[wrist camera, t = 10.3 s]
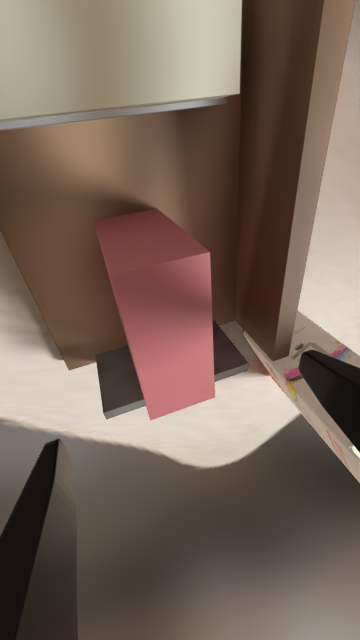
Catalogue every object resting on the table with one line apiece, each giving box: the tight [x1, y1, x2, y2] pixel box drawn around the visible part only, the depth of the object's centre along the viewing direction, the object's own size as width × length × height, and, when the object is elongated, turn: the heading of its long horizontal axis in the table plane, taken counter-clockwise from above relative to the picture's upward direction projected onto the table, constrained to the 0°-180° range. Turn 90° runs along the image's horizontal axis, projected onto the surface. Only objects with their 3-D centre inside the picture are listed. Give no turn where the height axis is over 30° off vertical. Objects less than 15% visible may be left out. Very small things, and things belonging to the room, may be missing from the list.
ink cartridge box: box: [243, 311, 360, 483], centre depth 21 cm, size 9×5×15 cm, turn 32°
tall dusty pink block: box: [93, 209, 215, 420], centre depth 14 cm, size 4×8×7 cm, turn 6°
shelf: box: [0, 0, 355, 419], centre depth 14 cm, size 14×17×6 cm
